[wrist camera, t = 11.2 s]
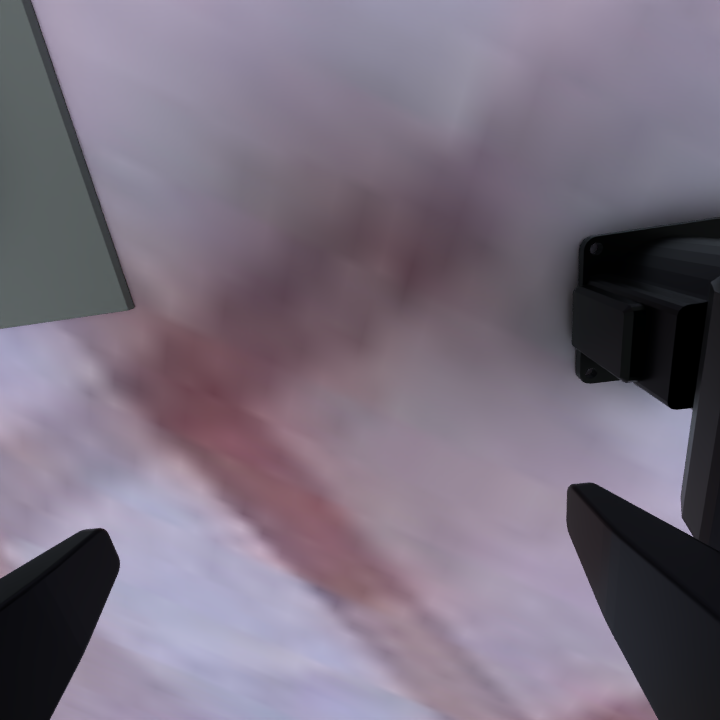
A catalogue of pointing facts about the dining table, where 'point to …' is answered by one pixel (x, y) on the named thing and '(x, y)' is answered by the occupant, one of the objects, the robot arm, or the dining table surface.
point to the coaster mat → (46, 193)
